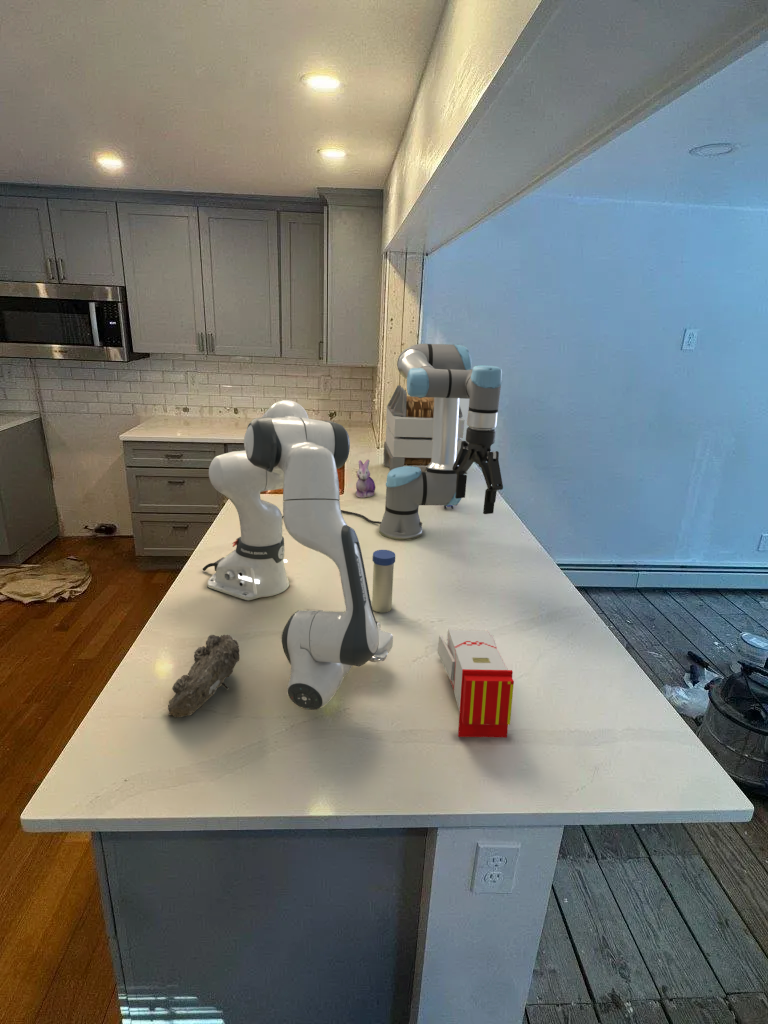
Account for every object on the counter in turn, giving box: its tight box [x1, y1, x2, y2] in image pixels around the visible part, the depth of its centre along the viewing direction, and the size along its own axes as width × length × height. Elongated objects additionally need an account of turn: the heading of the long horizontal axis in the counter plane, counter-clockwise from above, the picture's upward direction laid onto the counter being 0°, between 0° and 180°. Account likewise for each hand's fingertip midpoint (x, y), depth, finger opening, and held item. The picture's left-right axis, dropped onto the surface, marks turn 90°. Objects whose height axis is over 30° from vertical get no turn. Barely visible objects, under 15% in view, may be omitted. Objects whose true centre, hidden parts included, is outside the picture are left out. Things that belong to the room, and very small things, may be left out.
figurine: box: [355, 459, 376, 499], centre depth 237 cm, size 9×10×15 cm
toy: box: [437, 628, 515, 738], centre depth 117 cm, size 12×13×30 cm
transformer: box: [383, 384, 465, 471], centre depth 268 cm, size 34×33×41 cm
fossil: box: [167, 634, 241, 718], centre depth 115 cm, size 22×10×15 cm
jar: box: [371, 562, 395, 614], centre depth 148 cm, size 5×5×15 cm
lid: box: [371, 549, 396, 566], centre depth 145 cm, size 6×6×2 cm
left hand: (358, 620), depth 132 cm, fingers open, 8 cm apart
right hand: (473, 505), depth 154 cm, fingers open, 13 cm apart
